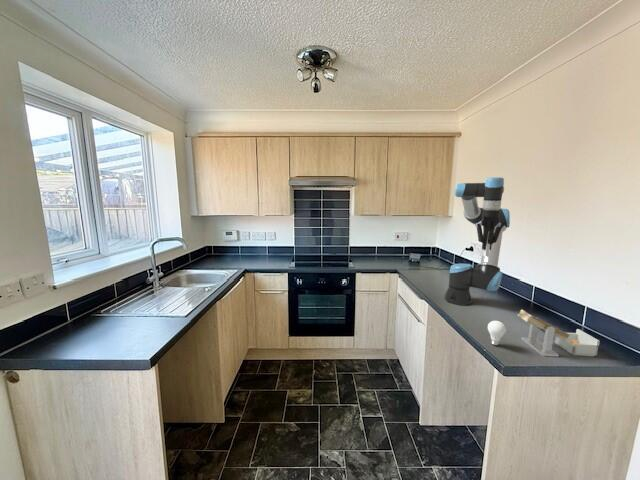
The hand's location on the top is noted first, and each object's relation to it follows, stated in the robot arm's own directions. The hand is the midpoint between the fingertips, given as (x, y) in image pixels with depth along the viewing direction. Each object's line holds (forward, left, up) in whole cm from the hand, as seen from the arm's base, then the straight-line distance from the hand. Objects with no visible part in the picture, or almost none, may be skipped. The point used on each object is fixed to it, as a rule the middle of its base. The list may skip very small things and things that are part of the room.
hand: (485, 256), depth 133 cm
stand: (+25, +13, -34) cm, 44 cm away
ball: (+25, +27, -32) cm, 49 cm away
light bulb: (+25, -5, -35) cm, 43 cm away
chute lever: (+21, +12, -26) cm, 36 cm away
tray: (+25, +27, -34) cm, 51 cm away
